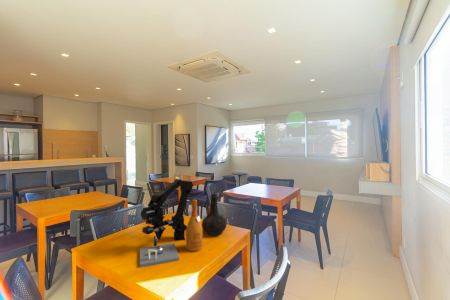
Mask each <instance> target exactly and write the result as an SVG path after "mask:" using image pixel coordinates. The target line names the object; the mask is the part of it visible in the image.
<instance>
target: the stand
mask: <svg viewBox="0 0 450 300" xmlns="http://www.w3.org/2000/svg"><path fill="white" fill-rule="evenodd" d="M157 246H163V253H161V254H157V250H154V248H155V246H154V245H151V246H145V247H139V267H140V268H145V267H150V266H156V265H161V264H167V263H172V262H177V261H180V255H179V253H178V251H177V248H176V245H175V243H174V242H170V243H165V244H159V245H158V244H157ZM147 252H148V254H147ZM150 252H155V253H150Z"/></svg>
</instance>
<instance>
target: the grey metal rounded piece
mask: <svg viewBox="0 0 450 300" xmlns="http://www.w3.org/2000/svg"><path fill="white" fill-rule="evenodd" d="M157 242H158V239H157V236H156V235H154V236H153V246H155V248H154V250H157V254H161V253H163V246H157V245H158V243H157ZM150 253H155V252H150ZM147 254H148V252H147Z"/></svg>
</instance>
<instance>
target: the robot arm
mask: <svg viewBox="0 0 450 300" xmlns="http://www.w3.org/2000/svg"><path fill="white" fill-rule="evenodd" d="M193 183H194V182H193V181H191V180H183V179H179V178H175V179H174V180H173V181H172V182H171V183H170V184H169V185H168V186H166V187H165V188H164V189H162V190H161V191H158V192H156V193H154V194H153V195H152V196H151V199H150V201H149V202H148V204H147V206H144V207H143V208H142V210H141V212H140V216H141V219H142V220H143V221H145V225H147V226H144V227H142V230H141V232H142V233H143V234H146V235H150V234H155V236H157V241H160V240H161V238H162V237H163V234H164V231H165V230H166V229H167V228H166V227H165V226H168V227H171V228H172V230H173V239H174V240H175V242H177V241H186V234H185V232H186V229H187V225H186V224H185V217H184V212H185V209H186V205H187V200H188V196H189V194H190V193H191V192H192V191H193V187H194V184H193ZM178 188H179V189H180V197H179V200H178V205H177V207H176V212H175V214H174V215H172V216H171V218H170V219H169V218H167V219H165V216H164V208H165V207H166V206H167V205H166V204H165V202H166V201H167V199H168V197H169V196H170V195H171V194H172V193H173V192H174V191H176V190H177V189H178ZM164 219H165V220H164ZM150 225H151V226H150Z"/></svg>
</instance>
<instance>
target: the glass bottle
mask: <svg viewBox="0 0 450 300" xmlns="http://www.w3.org/2000/svg"><path fill="white" fill-rule="evenodd" d="M209 197H210V208H209V213H208V215H207V216H205V217H204V218H203V219H202V221H201V226H202V231H203V232H204V233H206V234H207V235H209V236H218V235H221V234H222V233H223V232H224V231H225V230H226V228H227V223H228V222H227V220H226V218H225V217H224V216H223V215H220V214H219V208H218V198H219V196H218V194H217V193H212V194H210V196H209Z"/></svg>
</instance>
